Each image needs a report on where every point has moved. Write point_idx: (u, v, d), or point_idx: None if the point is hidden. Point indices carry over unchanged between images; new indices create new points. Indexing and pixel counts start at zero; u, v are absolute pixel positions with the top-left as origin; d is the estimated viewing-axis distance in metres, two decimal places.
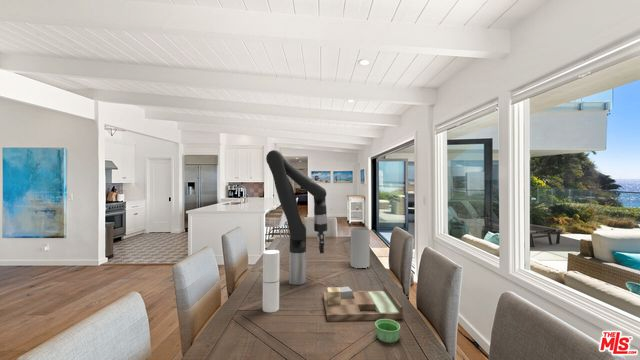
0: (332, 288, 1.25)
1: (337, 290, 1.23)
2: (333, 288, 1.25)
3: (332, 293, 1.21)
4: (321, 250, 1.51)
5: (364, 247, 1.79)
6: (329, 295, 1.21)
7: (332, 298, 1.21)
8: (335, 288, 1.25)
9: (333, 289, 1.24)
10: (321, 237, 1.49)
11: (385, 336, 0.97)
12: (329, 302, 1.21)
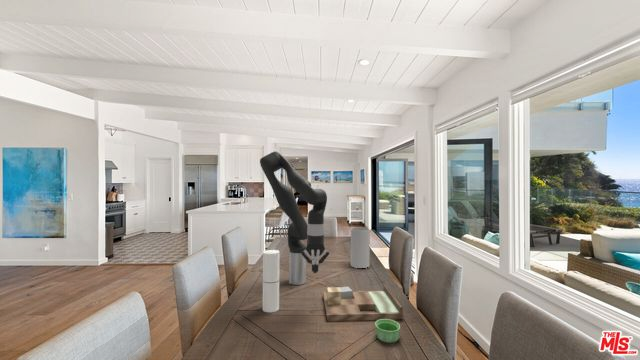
0: (332, 288, 1.25)
1: (337, 290, 1.23)
2: (333, 288, 1.25)
3: (332, 293, 1.21)
4: None
5: (364, 247, 1.79)
6: (329, 295, 1.21)
7: (332, 298, 1.21)
8: (335, 288, 1.25)
9: (333, 289, 1.24)
10: None
11: (385, 336, 0.97)
12: (329, 302, 1.21)
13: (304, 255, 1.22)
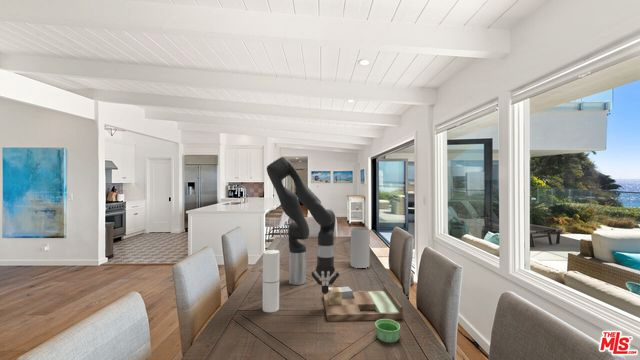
0: (333, 288, 1.25)
1: (338, 290, 1.23)
2: (334, 288, 1.25)
3: (333, 293, 1.21)
4: None
5: (364, 247, 1.79)
6: (330, 295, 1.21)
7: (333, 298, 1.21)
8: (336, 288, 1.25)
9: (333, 289, 1.24)
10: None
11: (385, 336, 0.97)
12: (330, 302, 1.21)
13: (314, 276, 1.22)
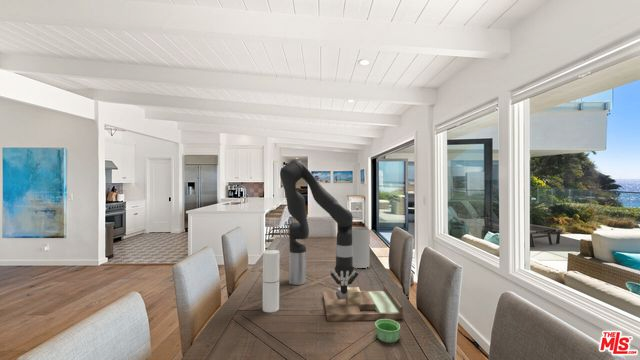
0: (352, 288, 1.26)
1: (357, 290, 1.23)
2: (352, 288, 1.25)
3: (352, 293, 1.21)
4: None
5: (364, 247, 1.79)
6: (349, 295, 1.21)
7: (352, 298, 1.21)
8: (354, 288, 1.25)
9: (352, 289, 1.24)
10: None
11: (385, 336, 0.97)
12: (349, 302, 1.21)
13: (333, 276, 1.23)
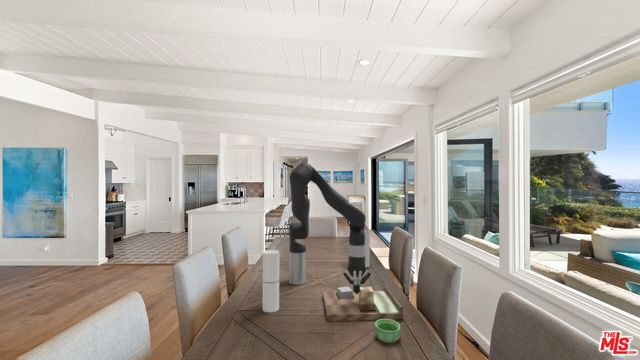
0: (364, 288, 1.26)
1: (369, 290, 1.23)
2: (365, 288, 1.26)
3: (365, 293, 1.22)
4: (359, 289, 1.24)
5: None
6: (362, 295, 1.22)
7: (365, 298, 1.22)
8: (367, 288, 1.26)
9: (365, 289, 1.25)
10: None
11: (385, 336, 0.97)
12: (362, 302, 1.22)
13: (346, 276, 1.23)
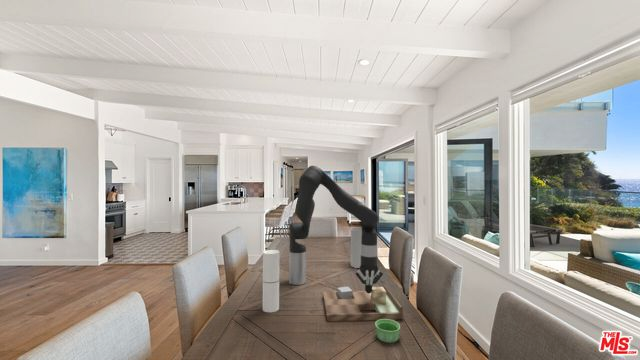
0: (376, 287, 1.26)
1: (382, 290, 1.24)
2: (377, 288, 1.26)
3: (377, 293, 1.22)
4: (371, 289, 1.24)
5: None
6: (374, 295, 1.22)
7: (377, 298, 1.22)
8: (379, 288, 1.26)
9: (377, 289, 1.25)
10: None
11: (385, 336, 0.97)
12: (374, 302, 1.22)
13: (358, 276, 1.23)
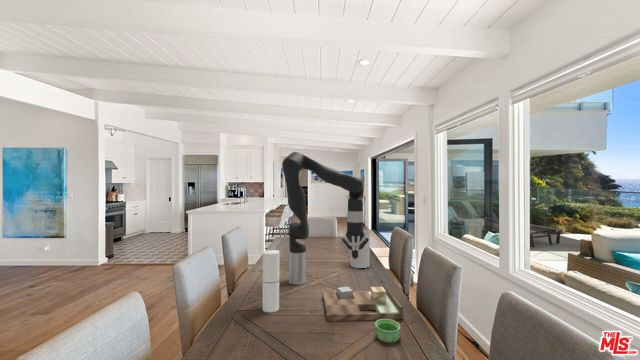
0: (376, 287, 1.26)
1: (382, 290, 1.24)
2: (377, 288, 1.26)
3: (377, 293, 1.22)
4: None
5: (364, 247, 1.79)
6: (374, 295, 1.22)
7: (377, 298, 1.22)
8: (379, 288, 1.26)
9: (377, 289, 1.25)
10: None
11: (385, 336, 0.97)
12: (374, 302, 1.22)
13: (345, 241, 1.25)
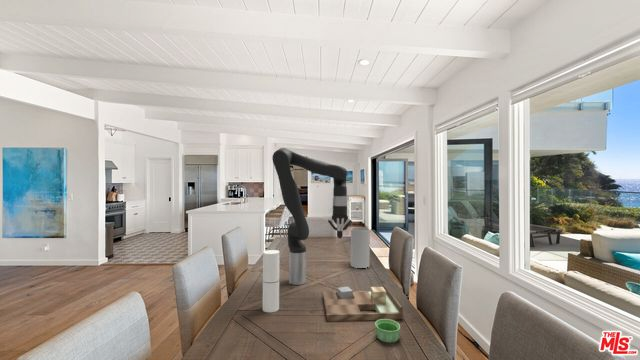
0: (376, 287, 1.26)
1: (382, 290, 1.24)
2: (377, 288, 1.26)
3: (377, 293, 1.22)
4: None
5: (364, 247, 1.79)
6: (374, 295, 1.22)
7: (377, 298, 1.22)
8: (379, 288, 1.26)
9: (377, 289, 1.25)
10: None
11: (385, 336, 0.97)
12: (374, 302, 1.22)
13: (330, 223, 1.43)
